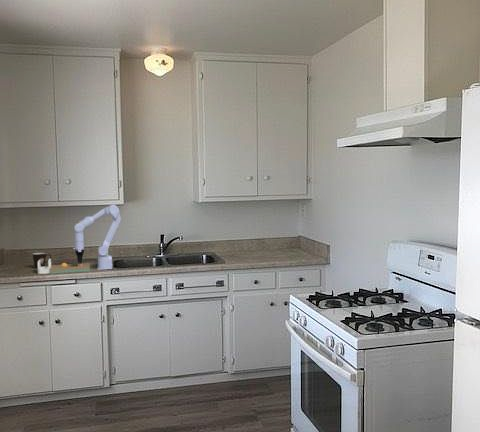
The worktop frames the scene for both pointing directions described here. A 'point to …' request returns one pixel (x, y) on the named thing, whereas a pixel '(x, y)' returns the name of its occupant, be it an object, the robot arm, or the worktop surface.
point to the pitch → (62, 268)
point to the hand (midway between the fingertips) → (79, 261)
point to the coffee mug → (40, 257)
